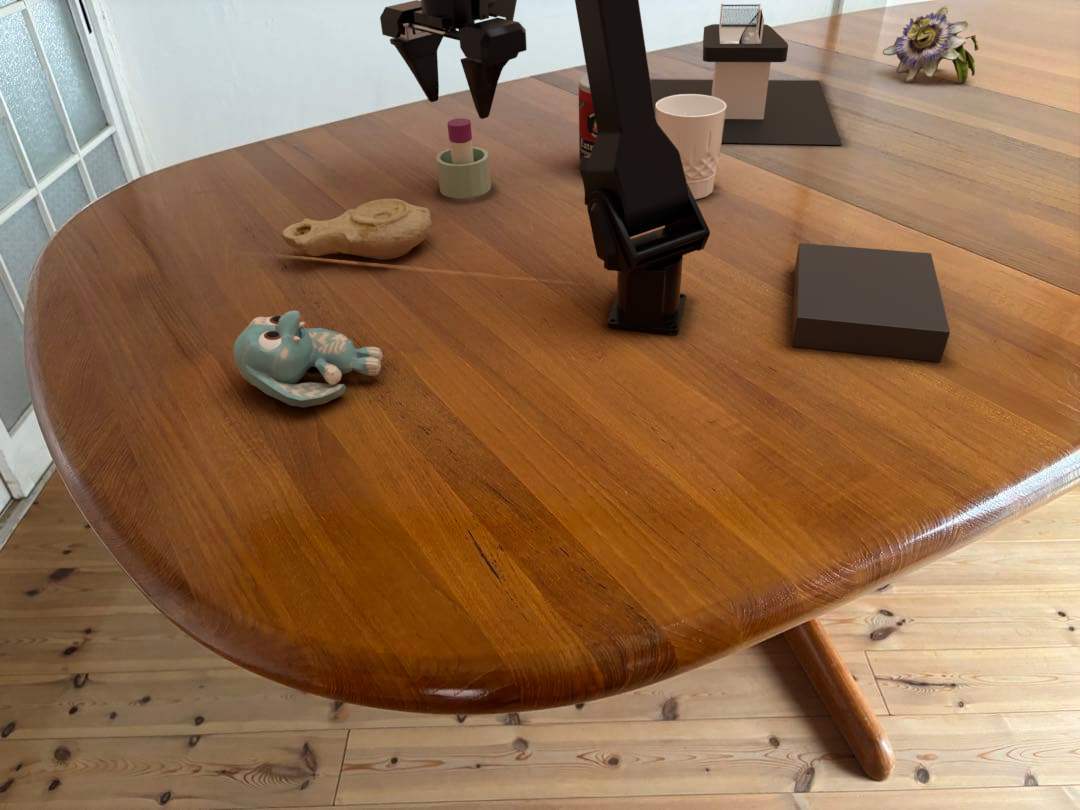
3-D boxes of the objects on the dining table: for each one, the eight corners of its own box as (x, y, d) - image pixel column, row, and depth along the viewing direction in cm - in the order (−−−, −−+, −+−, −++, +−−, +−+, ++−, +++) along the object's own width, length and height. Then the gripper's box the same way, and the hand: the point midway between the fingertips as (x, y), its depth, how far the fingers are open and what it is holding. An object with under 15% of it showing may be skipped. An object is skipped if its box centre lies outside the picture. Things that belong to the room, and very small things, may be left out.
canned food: (569, 175, 103) (567, 85, 96) (595, 153, 108) (596, 66, 102) (625, 184, 100) (628, 92, 93) (650, 161, 105) (654, 72, 99)
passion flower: (903, 116, 131) (868, 48, 127) (931, 86, 136) (899, 20, 132) (971, 87, 121) (936, 13, 118) (999, 55, 126) (966, -16, 123)
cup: (482, 203, 97) (478, 167, 94) (433, 200, 98) (428, 164, 96) (497, 183, 102) (494, 147, 99) (450, 180, 103) (446, 145, 100)
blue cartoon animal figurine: (377, 356, 62) (213, 342, 61) (374, 429, 67) (221, 418, 65) (388, 287, 71) (244, 273, 69) (385, 355, 75) (249, 343, 73)
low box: (940, 362, 68) (950, 331, 66) (791, 346, 71) (797, 317, 69) (923, 281, 79) (931, 252, 77) (794, 270, 82) (799, 242, 80)
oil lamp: (283, 261, 87) (272, 217, 84) (397, 220, 94) (390, 178, 91) (332, 297, 81) (322, 251, 78) (450, 250, 88) (445, 206, 85)
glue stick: (472, 193, 99) (466, 126, 94) (451, 191, 99) (443, 125, 94) (479, 184, 101) (473, 118, 96) (458, 182, 101) (451, 117, 96)
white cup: (717, 204, 94) (725, 117, 88) (648, 201, 96) (652, 115, 90) (719, 178, 100) (727, 94, 94) (654, 175, 102) (658, 93, 96)
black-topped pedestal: (842, 145, 107) (862, 37, 99) (640, 142, 111) (644, 37, 103) (818, 81, 129) (834, -12, 121) (651, 80, 133) (655, -11, 125)
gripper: (562, -47, 83) (565, 108, 93) (448, -63, 94) (461, 78, 104) (478, -30, 77) (490, 134, 87) (367, -48, 88) (389, 99, 98)
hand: (458, 109), depth 94 cm, fingers open, 9 cm apart
